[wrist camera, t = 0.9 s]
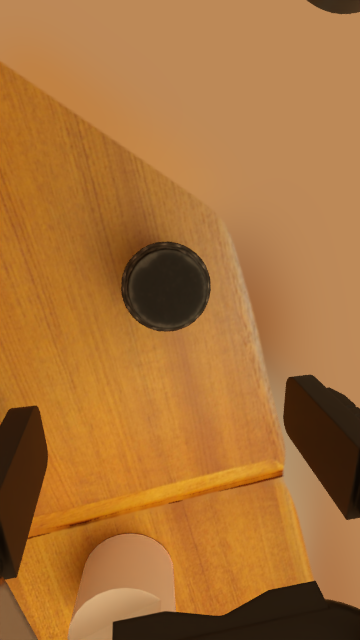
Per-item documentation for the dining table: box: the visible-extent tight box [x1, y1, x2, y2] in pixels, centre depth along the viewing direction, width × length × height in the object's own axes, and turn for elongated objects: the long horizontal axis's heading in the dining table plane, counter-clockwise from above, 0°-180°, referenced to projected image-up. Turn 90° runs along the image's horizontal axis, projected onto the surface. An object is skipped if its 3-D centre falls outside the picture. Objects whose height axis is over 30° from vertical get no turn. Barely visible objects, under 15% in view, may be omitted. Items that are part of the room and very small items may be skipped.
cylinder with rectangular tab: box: [68, 533, 176, 640], centre depth 29 cm, size 9×9×12 cm
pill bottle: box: [121, 242, 211, 331], centre depth 26 cm, size 6×6×11 cm
